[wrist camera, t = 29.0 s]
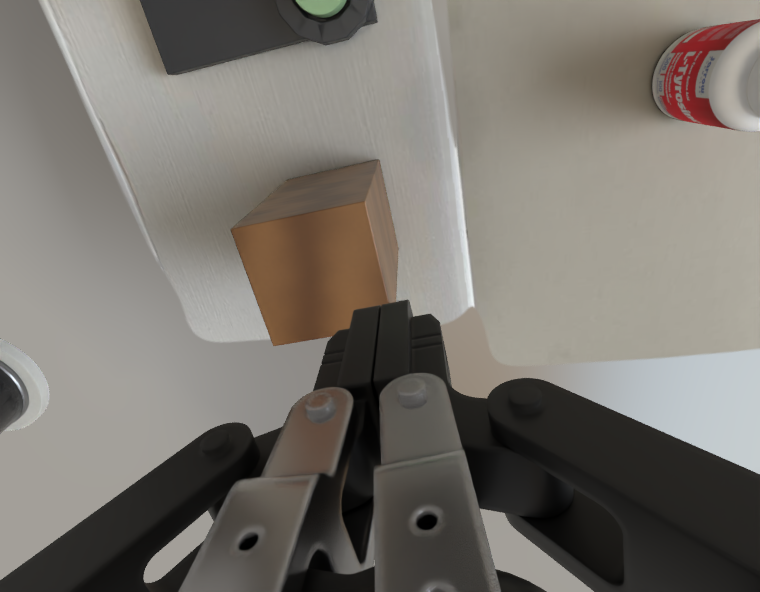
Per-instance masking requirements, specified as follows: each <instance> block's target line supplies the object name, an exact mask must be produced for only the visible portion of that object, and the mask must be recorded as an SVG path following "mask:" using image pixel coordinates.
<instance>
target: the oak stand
mask: <svg viewBox="0 0 760 592" xmlns="http://www.w3.org/2000/svg"><path fill="white" fill-rule="evenodd" d="M231 232H232V235H233V238H234V240H235V243H236V246H237V249H238V251H239V254H240V257H241V259H242V262H243V265H244V268H245V270H246V273H247V276H248V278H249V281H250V284H251V287H252V289H253V292H254V295H255V297H256V300H257V303H258V306H259V308H260V311H261V314H262V316H263V319H264V322H265V325H266V327H267V330H268V333H269V335H270V338H271V341H272V343H273V346H277V345H284V344H290V343H296V342H301V341H307V340H313V339H319V338H325V337H331V336H334V334H335V333H336V332H337V331H338V330H344V329H349V328H350V324H351V320H352V315H353V311H354V310H356V309H361V308H367V307H372V306H377V305H381V306H382V304H388V303H393V302H396V290H397V270H398V244H397V240H396V235H395V230H394V226H393V221H392V216H391V212H390V207H389V202H388V198H387V193H386V189H385V184H384V179H383V175H382V170H381V165H380V161H379V160H374V161H370V162H365V163H361V164H356V165H352V166H347V167H342V168H338V169H333V170H329V171H324V172H320V173H315V174H311V175H306V176H302V177H297V178H292V179H288V180H287V181H285V182H284V183H283V184H282V185H281V186H280V187H279V188H277V189H276V190H275V191H274V192H273V193H272V194H270V195H269V196H268V197H267V198H266V199H265V200H264V201H262V202H261V203H260V204H259V205H258V206H257V207H256V208H254V209H253V210H252V211H251V212H250V213H249V214H247V215H246V216H245V217H244V218H243V219H242V220H241V221H239V222H238V223H237V224H236V225H235V226H234V227H233V228H231Z"/></svg>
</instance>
